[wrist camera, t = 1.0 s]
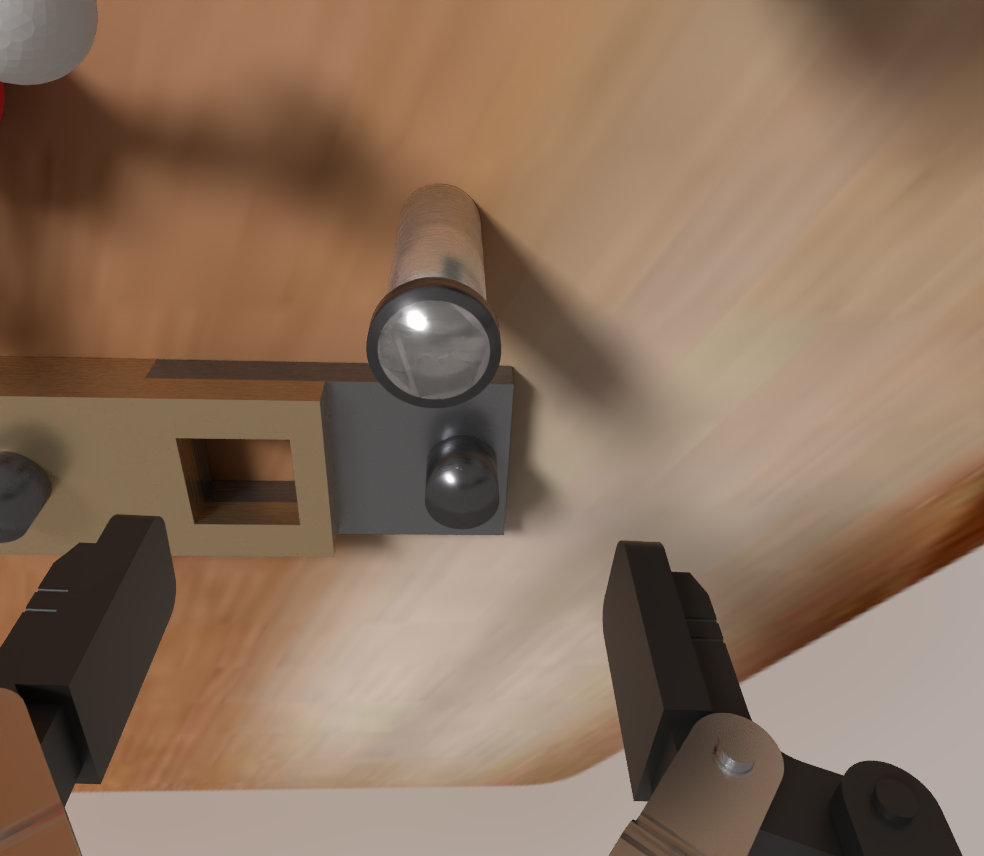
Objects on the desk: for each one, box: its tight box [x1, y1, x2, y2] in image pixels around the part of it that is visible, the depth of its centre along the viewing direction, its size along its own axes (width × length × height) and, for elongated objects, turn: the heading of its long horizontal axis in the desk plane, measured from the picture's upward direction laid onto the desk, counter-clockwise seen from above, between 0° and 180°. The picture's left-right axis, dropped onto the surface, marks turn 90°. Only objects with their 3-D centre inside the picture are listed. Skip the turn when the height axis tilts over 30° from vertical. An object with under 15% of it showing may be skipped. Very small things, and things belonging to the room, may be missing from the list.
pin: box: [366, 184, 501, 408], centre depth 25 cm, size 4×4×10 cm
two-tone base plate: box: [0, 357, 514, 557], centre depth 32 cm, size 22×8×5 cm, turn 88°
